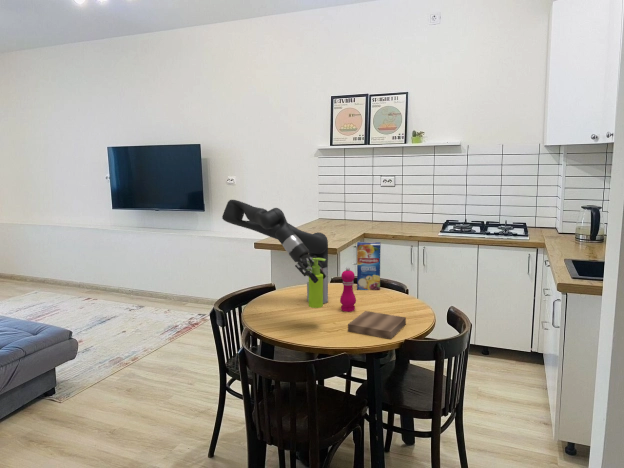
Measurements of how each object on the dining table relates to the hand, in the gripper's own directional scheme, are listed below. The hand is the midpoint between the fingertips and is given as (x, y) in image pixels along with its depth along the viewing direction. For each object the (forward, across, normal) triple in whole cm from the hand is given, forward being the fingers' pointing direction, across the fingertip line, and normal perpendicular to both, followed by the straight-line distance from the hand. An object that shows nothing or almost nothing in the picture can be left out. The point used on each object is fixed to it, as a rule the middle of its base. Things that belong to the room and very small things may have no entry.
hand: (320, 279), depth 189 cm
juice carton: (+11, -61, -18) cm, 65 cm away
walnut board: (+29, -10, +1) cm, 30 cm away
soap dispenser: (+7, 0, -9) cm, 12 cm away
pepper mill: (+15, -24, -14) cm, 32 cm away
